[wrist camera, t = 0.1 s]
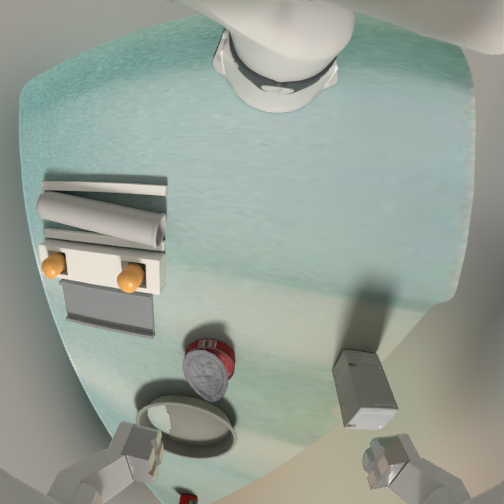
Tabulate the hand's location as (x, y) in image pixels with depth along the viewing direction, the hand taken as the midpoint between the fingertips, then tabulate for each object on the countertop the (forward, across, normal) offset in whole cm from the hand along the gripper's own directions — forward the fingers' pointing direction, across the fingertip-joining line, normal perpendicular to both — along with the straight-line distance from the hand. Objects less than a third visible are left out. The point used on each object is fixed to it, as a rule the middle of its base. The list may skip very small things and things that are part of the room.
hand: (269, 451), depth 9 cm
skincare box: (+42, -23, +24) cm, 53 cm away
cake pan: (+44, +11, +48) cm, 66 cm away
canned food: (+42, +6, +25) cm, 49 cm away
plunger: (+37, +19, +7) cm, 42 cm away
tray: (+41, +27, +16) cm, 51 cm away
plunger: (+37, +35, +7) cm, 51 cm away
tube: (+39, +27, -2) cm, 48 cm away
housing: (+39, +27, +1) cm, 48 cm away
